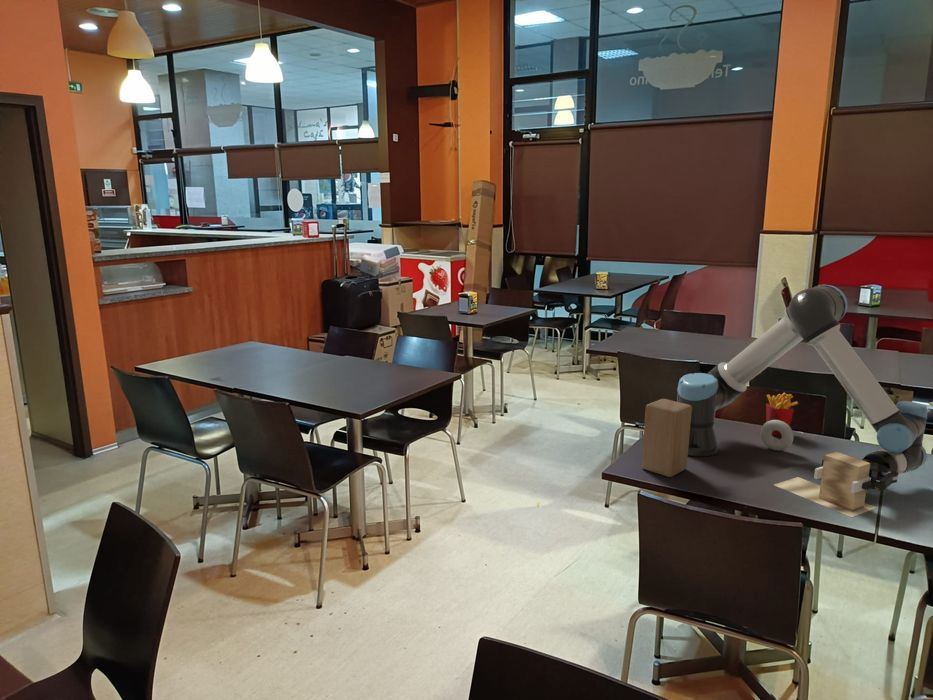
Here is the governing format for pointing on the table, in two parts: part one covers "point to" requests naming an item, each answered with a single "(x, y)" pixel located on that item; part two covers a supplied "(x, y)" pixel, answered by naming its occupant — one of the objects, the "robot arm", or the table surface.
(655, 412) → the block
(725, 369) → the robot arm
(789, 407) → the french fries
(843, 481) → the block
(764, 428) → the donut
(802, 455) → the table surface
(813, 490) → the board
